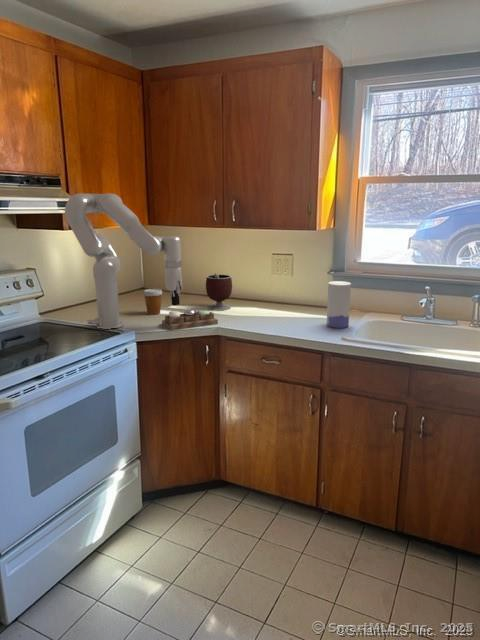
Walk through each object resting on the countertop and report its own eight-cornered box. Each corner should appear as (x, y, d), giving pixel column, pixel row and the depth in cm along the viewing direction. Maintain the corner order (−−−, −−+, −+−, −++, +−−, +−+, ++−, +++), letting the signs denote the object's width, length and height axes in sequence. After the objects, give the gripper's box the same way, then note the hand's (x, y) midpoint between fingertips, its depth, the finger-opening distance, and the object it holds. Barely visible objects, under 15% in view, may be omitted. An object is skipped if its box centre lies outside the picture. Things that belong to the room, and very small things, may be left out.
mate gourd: (209, 304, 261) (208, 268, 256) (234, 305, 259) (234, 269, 253) (202, 311, 246) (202, 273, 241) (229, 312, 244) (228, 273, 239)
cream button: (171, 319, 214) (171, 314, 213) (167, 317, 218) (167, 312, 217) (181, 318, 216) (181, 313, 215) (177, 315, 220) (177, 310, 220)
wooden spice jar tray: (171, 330, 211) (171, 320, 210) (162, 324, 221) (161, 314, 220) (217, 323, 222) (217, 314, 221) (206, 318, 232) (206, 309, 231)
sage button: (201, 318, 221) (201, 313, 220) (197, 316, 225) (197, 311, 225) (211, 317, 223) (211, 312, 223) (207, 315, 228) (206, 310, 227)
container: (343, 322, 225) (346, 280, 220) (351, 327, 215) (354, 284, 210) (323, 323, 223) (325, 281, 218) (330, 328, 214) (332, 285, 209)
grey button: (186, 317, 217) (186, 312, 217) (182, 315, 221) (182, 310, 221) (196, 316, 219) (196, 311, 219) (192, 313, 224) (192, 309, 223)
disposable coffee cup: (164, 314, 238) (163, 291, 235) (145, 316, 236) (144, 292, 233) (162, 310, 247) (161, 288, 244) (143, 311, 245) (142, 289, 242)
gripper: (159, 263, 215) (162, 302, 220) (171, 267, 203) (173, 309, 207) (174, 262, 219) (177, 300, 224) (187, 265, 206) (189, 306, 211)
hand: (175, 304), depth 215 cm, fingers closed
